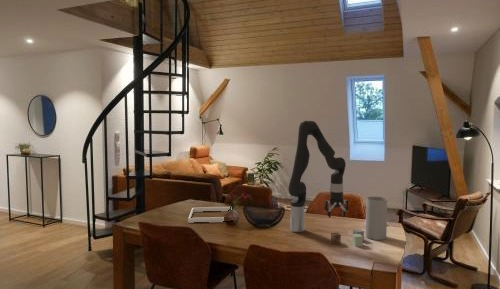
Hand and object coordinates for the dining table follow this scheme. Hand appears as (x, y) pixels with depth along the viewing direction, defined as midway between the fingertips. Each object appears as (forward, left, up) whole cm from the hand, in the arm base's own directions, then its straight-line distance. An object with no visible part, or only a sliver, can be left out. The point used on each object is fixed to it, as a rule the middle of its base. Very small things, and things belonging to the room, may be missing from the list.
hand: (336, 217), depth 215 cm
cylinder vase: (+29, +9, -16) cm, 34 cm away
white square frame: (-78, +67, -16) cm, 104 cm away
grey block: (+16, +5, -16) cm, 23 cm away
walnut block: (0, 0, -16) cm, 16 cm away
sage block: (+12, -4, -16) cm, 20 cm away
